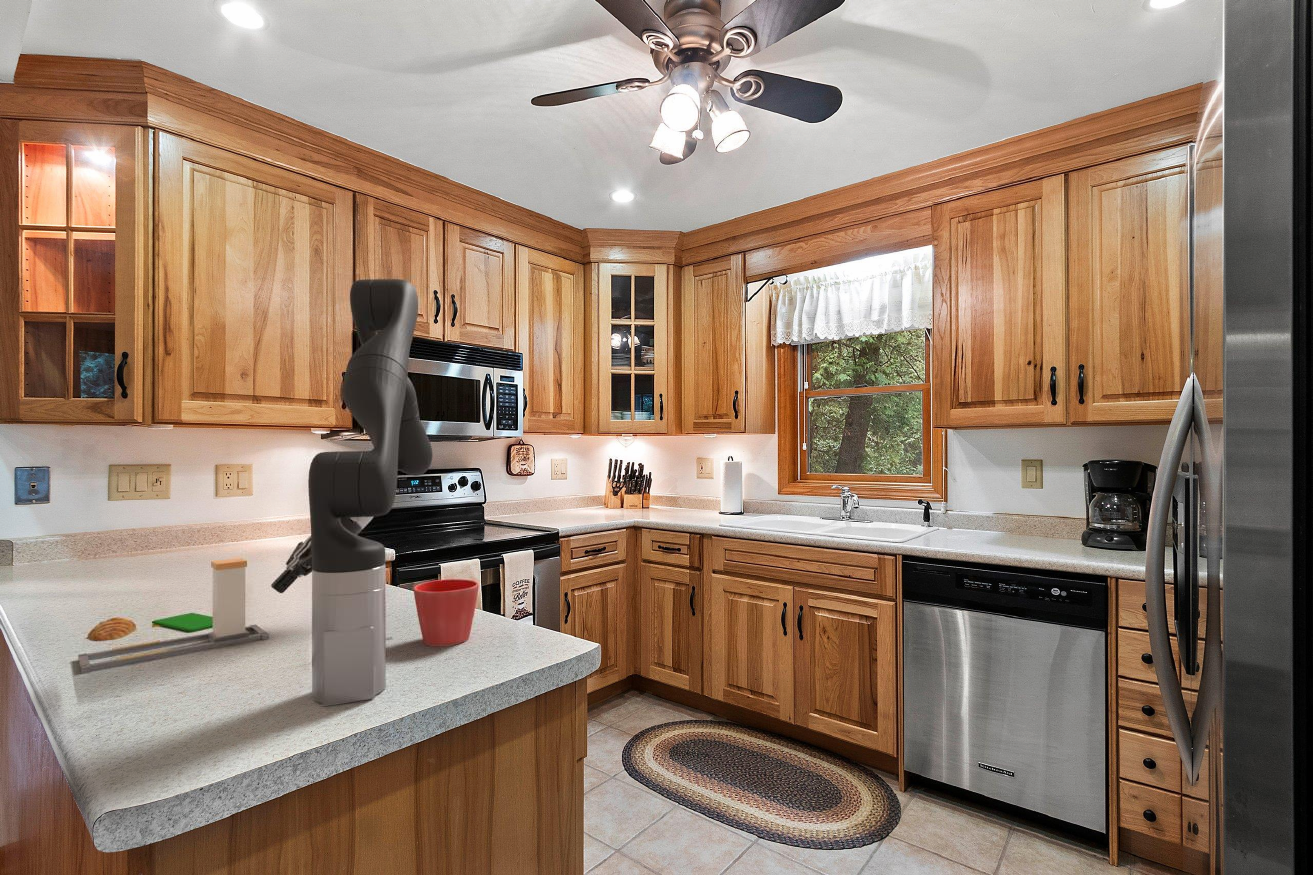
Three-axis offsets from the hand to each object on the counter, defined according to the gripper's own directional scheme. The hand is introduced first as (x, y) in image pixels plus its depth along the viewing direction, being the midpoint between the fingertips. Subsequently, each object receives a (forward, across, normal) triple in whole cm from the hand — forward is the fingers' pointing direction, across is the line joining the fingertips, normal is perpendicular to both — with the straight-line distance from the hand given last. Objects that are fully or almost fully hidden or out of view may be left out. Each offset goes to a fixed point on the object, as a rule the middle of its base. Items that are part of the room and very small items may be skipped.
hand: (275, 590), depth 115 cm
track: (+16, 0, -4) cm, 17 cm away
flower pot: (-9, +23, +21) cm, 33 cm away
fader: (+10, 0, 0) cm, 10 cm away
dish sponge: (+14, -18, 0) cm, 22 cm away
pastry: (+21, -20, -8) cm, 31 cm away
